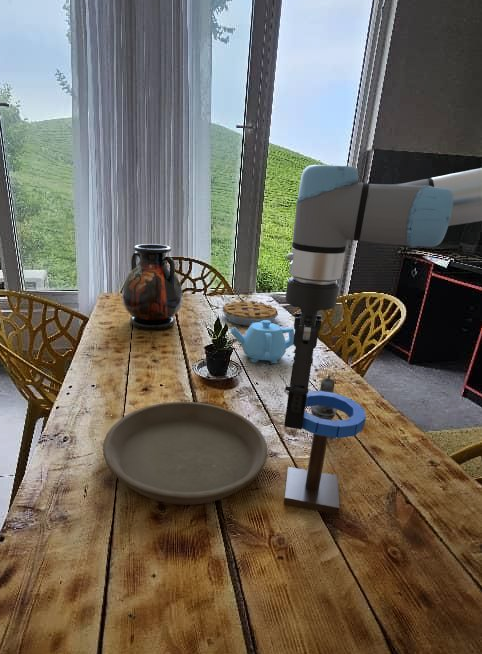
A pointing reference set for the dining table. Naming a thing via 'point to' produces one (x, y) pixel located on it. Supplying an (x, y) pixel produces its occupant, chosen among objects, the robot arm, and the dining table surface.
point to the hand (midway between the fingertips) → (294, 411)
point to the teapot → (264, 341)
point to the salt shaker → (325, 411)
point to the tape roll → (329, 426)
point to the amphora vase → (152, 288)
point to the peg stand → (313, 483)
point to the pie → (249, 312)
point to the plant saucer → (185, 452)
